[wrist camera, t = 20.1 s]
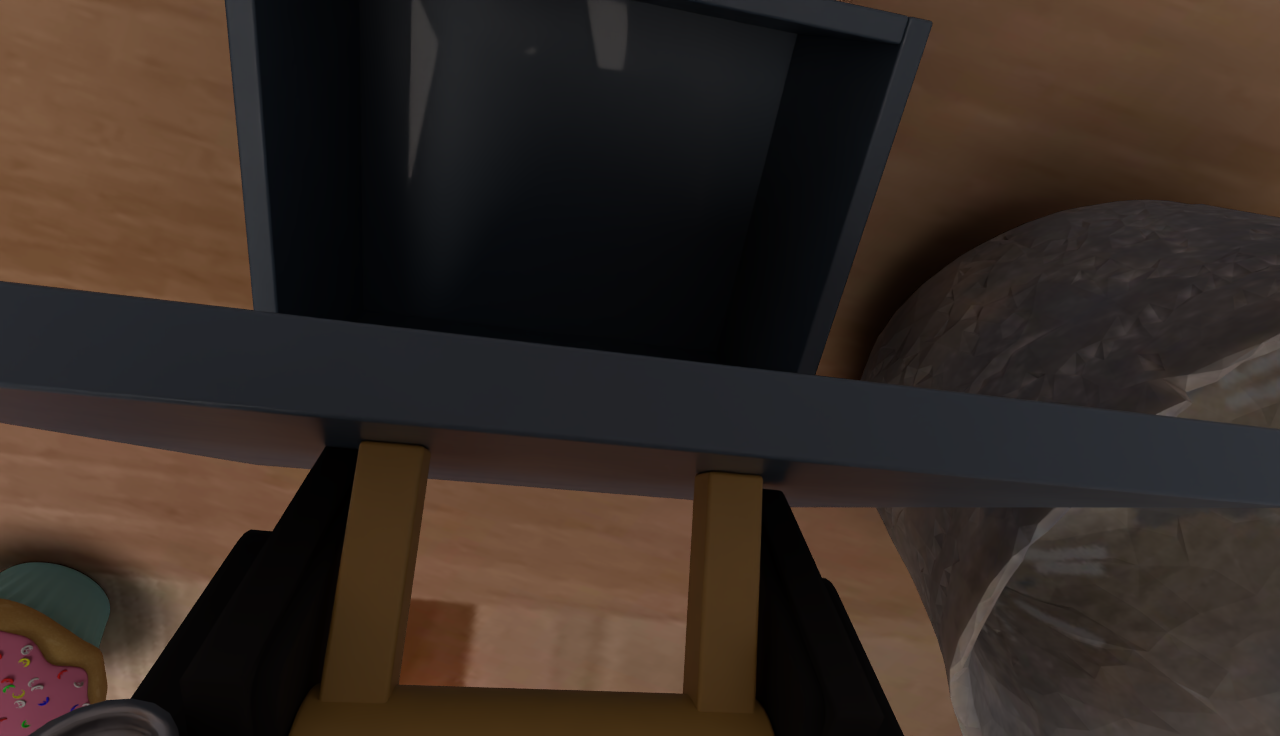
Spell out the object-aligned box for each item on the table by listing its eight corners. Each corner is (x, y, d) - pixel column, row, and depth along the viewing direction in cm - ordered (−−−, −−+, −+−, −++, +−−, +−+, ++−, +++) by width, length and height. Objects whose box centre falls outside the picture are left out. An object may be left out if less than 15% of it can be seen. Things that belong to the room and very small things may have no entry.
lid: (-446, 226, 5) (-850, 1112, 4) (1288, 429, 7) (1364, 994, 6) (261, 433, 18) (220, 636, 17) (784, 479, 21) (779, 659, 20)
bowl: (849, 97, 24) (1188, 201, 11) (1269, 148, 27) (1957, 284, 13) (753, 491, 32) (882, 821, 19) (1081, 502, 35) (1396, 803, 22)
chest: (343, -81, 20) (210, -135, 13) (813, 17, 23) (934, 21, 15) (351, 315, 26) (264, 439, 19) (724, 359, 29) (779, 483, 21)
